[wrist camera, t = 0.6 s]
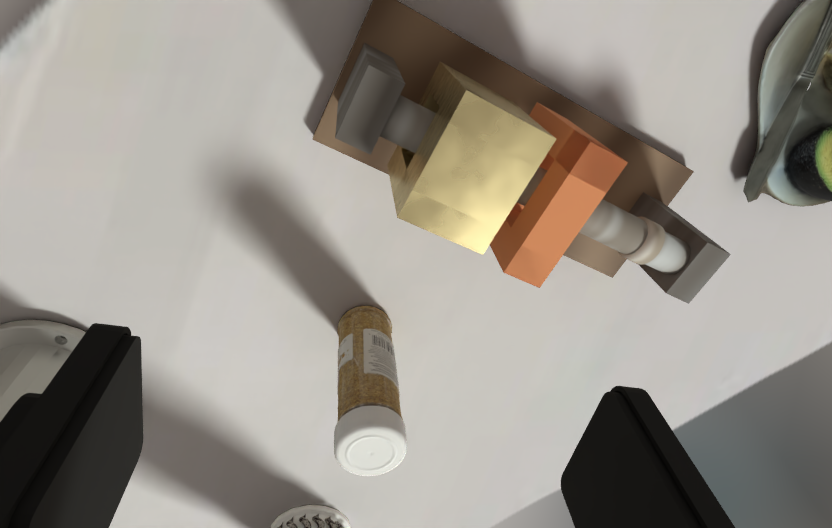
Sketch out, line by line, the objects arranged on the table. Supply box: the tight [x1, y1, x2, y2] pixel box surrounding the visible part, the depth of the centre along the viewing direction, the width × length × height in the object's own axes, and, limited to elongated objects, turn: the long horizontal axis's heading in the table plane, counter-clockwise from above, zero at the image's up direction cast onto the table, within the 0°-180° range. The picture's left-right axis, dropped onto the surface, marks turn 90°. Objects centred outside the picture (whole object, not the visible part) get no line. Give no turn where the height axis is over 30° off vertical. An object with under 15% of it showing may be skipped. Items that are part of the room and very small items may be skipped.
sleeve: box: [387, 62, 556, 255], centre depth 30 cm, size 7×5×8 cm
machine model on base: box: [313, 0, 731, 304], centre depth 35 cm, size 26×10×9 cm, turn 62°
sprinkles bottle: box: [334, 306, 407, 476], centre depth 39 cm, size 5×5×14 cm
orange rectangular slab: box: [490, 102, 628, 288], centre depth 32 cm, size 8×2×9 cm, turn 152°
